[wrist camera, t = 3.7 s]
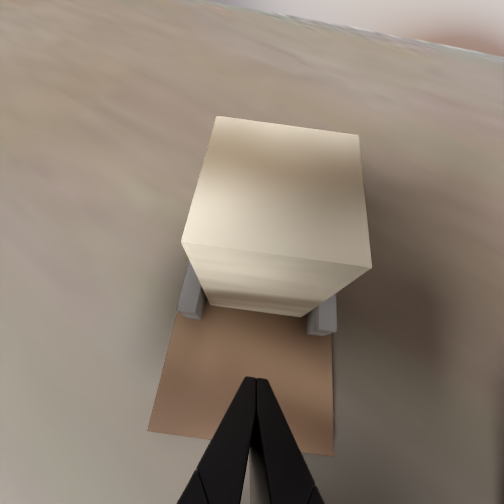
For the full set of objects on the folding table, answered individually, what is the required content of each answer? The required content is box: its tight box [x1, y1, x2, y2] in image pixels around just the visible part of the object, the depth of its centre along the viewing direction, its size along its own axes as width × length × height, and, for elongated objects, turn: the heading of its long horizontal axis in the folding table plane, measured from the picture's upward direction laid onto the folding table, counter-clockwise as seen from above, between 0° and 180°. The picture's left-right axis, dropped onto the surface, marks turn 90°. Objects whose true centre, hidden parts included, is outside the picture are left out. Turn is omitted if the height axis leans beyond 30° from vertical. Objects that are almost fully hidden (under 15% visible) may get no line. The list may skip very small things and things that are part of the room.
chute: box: [147, 260, 337, 456], centre depth 16 cm, size 22×10×3 cm, turn 173°
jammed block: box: [181, 116, 372, 317], centre depth 13 cm, size 6×6×9 cm
